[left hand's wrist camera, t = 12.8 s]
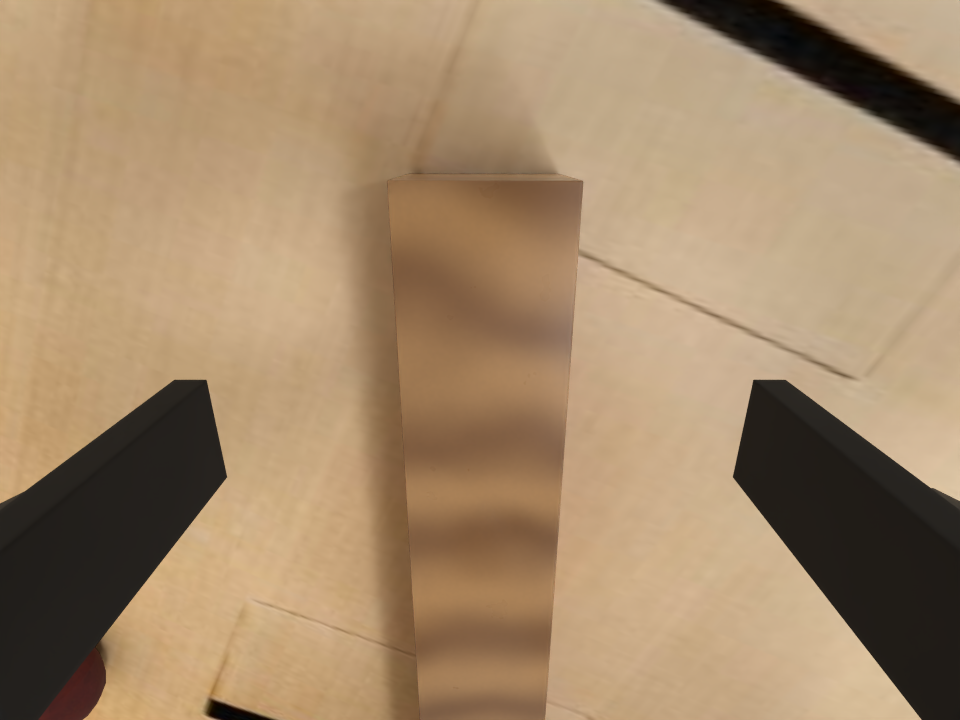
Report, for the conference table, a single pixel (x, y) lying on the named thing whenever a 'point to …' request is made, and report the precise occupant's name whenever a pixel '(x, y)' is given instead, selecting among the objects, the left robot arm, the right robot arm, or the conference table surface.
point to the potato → (79, 691)
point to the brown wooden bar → (483, 427)
